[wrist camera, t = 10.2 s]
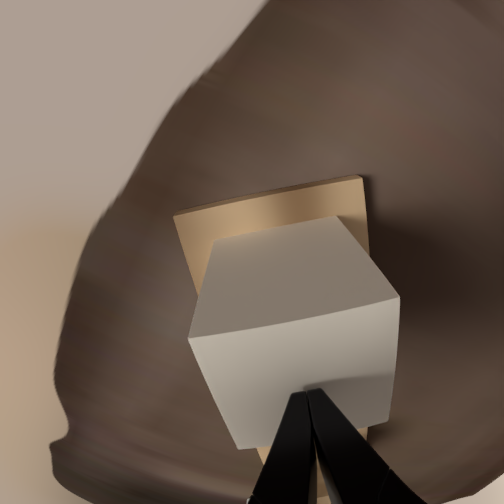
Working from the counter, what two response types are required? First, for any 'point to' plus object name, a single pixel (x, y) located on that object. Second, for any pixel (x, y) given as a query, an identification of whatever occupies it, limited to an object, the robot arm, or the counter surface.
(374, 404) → the white rectangular block
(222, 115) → the counter surface
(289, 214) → the stand
